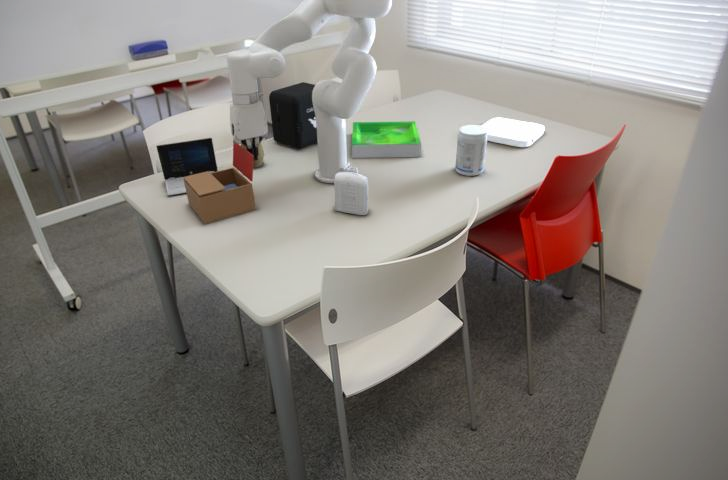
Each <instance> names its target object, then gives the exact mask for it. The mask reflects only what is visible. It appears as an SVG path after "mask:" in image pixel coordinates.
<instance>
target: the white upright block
mask: <svg viewBox="0 0 728 480" xmlns="http://www.w3.org/2000/svg"><path fill="white" fill-rule="evenodd" d="M333 184H334V186H333V188H334V209H335V211H337V212H341V213H346V214H350V215H351V214H352V215H357V216H366V215H368V213H369V179H368V177H367V176H365V175H363V174H361V173H359V172H358V173H353V172H339V173H337V174H336V175H335V179H334V183H333Z"/></svg>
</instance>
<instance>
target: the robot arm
mask: <svg viewBox="0 0 728 480" xmlns="http://www.w3.org/2000/svg"><path fill="white" fill-rule="evenodd" d="M392 4H393V0H302V1H301V2H300V4H298V5H297V6H296V7H295V8H294V9H293V11H292V12H291V13H289V14H288V15H286V16H285V17H282V18H281V19H280V20H278V21H276V22H275V23H273V24H272V25H270V26H269V27H267V28H266V29H265V30H263V32H262V33H261V34H260V35H259V36H257V38H256V39H255V40H254V41H253V42H252V43H251V44H250V45H249V47H248V49H246V50H245V49H244V50H243V49H241V50H233V51H230V52H229V53H228V54H227V55H226V63H227V70H228V77H229V84H230V85H229V86H230V91H231V98H232V102H231V103H229V121H230V122H229V125H230V126H229V127H230V132H231V135H232V137H233V140H232V142H234V143H235V144H239V145H241V144H243V145H245V146H246V147H247V151H248V152H250V153H251V154H252V155H253V156H254V161H255V160H258V156H259V153H258V146H259V143H260V142H261V143H262V141H263V140H265V139H267V138H268V137H269V133H268V131H269V127H268V121H267V115H266V112H265V107H264V104H263V101H262V100H261V97H263V96H264V91H263V90H260V89H259V86H258V85H259V83H258V79H274V78H278V77H280V76H281V75H282V74H283V73H284V72H285V70H286V58H285V57H284V55H283V54H282V53H281V52H282V51H283V50H284V49H287V48H288V47H290V46H292V45H295V44H298V43H303V42H306V41H309V40H311V39H312V38H314V37H315V36H316V34H317V33H319V31H320V30H321V29H322V28H323V27H324V26H325V25H326V23H328V22H329V21H330V20H331V19H332V18H333V17H334V16H335V15H338V16H340V17H341V16H342V17H349V25H348V29H347V32H346V33H345V36H344V37H343V40H342V41H341V44H340V46H339V47H338V49H337V51H336V53H335V55H334V57H333V59H332V62H331V71H332V72H333V74H334V76H335V77H336V78H338V79H340V80H341V82H339V81H336V80H333V79H331V78H330V79H328V78H327V79H322V80H320V81H318V82H317V83H316V84H314V85H315V87H314V89H313V92H312V102H313V107H314V111H315V116H316V125H317V142H318V143H317V157H318V169H317V170H315V172H314V178H315V179H316V180H317V181H319V182H321V183H326V184H334V179H335V175H336V174H337V173H339V172H353V173H358V174H359V169H358V167H357V166H351V162H350V161H348V149H347V122H346V120H348V119H350V118H352V117H353V116H355V114H357V112H358V111H359V109H360V107H361V105H362V104H363V102H364V100H365V98H366V96H367V95H368V93H369V91H370V89H371V88H372V85H373V84H374V81H375V79H376V76H377V69H378V68H377V62H376V60H375V58H374V57H373V56H372V55H371V54H370V50H371V48H372V46H373V44H374V41H375V39H376V33H377V27H376V20H377V19H382V18H384V17H385V16H386V15H388V14H389V12H390V10H391V9H392ZM250 138H252V145H251V142H250Z"/></svg>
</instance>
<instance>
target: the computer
mask: <svg viewBox="0 0 728 480" xmlns="http://www.w3.org/2000/svg"><path fill="white" fill-rule="evenodd" d="M481 126H482V127H485V128H486V129H487V130H488V132H487V134H488V135H487V142H488V141H489V142H492V143H498V144H502V145H507V146H512V147H517V148H528V147H530V146H531V145H532V144H534V143H535V142H536V141H537V140H538V139H539V138H540V137H541V136H543V135H544V134H545V126H544V125H543V124H540V123H535V122H528V121H523V120H518V119H511V118H505V117H499V116H498V117H492V118H490V119H488V120H487V121H485V122H484V123H483V124H481Z"/></svg>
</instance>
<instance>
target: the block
mask: <svg viewBox="0 0 728 480" xmlns="http://www.w3.org/2000/svg"><path fill="white" fill-rule="evenodd" d="M224 187H225V188H226V189H225V190H228V189H232V188H236V187H237V186H236V185H235V184H230V185H226V186H224ZM225 190H222V191H225ZM220 192H221V191H220Z"/></svg>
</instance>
